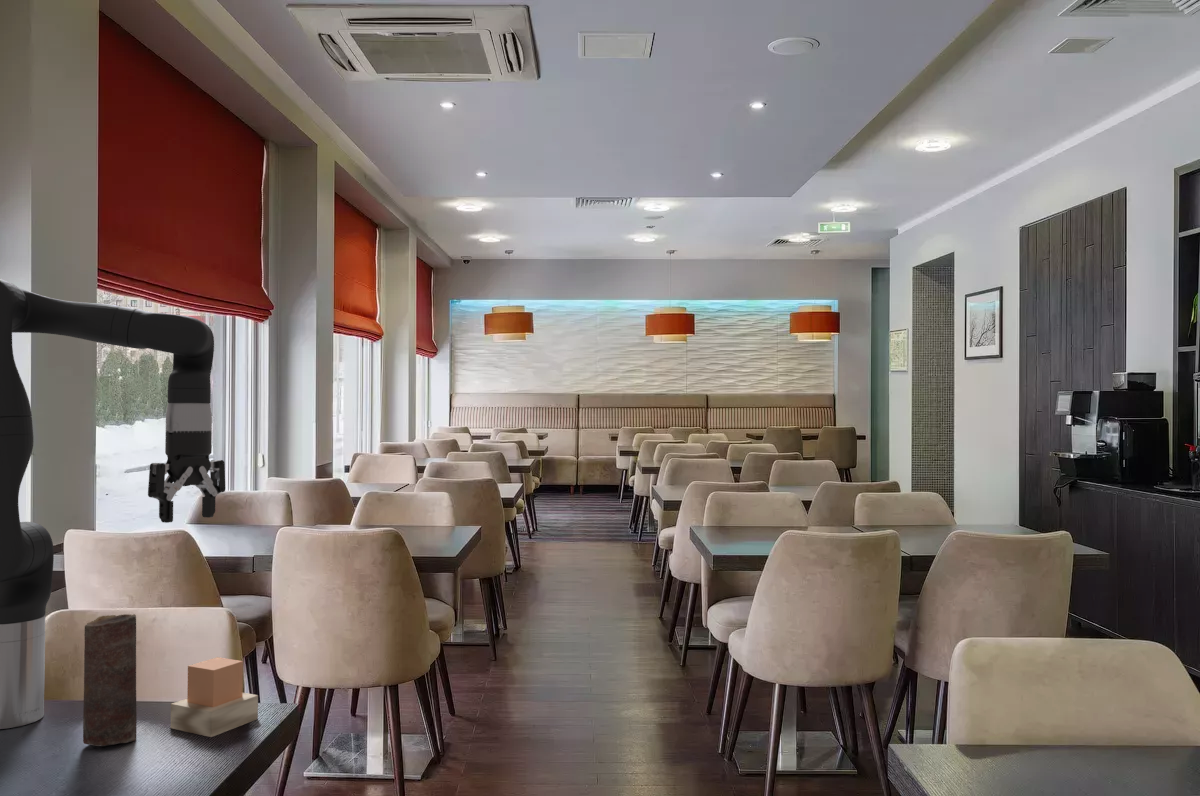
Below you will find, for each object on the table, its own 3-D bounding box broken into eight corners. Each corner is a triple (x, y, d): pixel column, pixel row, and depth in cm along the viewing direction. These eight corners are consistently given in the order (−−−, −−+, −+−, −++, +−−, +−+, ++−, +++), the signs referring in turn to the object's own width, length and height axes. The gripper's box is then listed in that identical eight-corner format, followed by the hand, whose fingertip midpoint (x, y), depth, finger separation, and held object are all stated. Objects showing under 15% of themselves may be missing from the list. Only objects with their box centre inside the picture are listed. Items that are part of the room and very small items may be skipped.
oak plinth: (170, 728, 145) (170, 703, 145) (217, 711, 153) (218, 687, 153) (211, 737, 141) (211, 712, 141) (257, 719, 149) (258, 695, 149)
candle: (111, 755, 133) (113, 622, 133) (70, 751, 134) (72, 620, 135) (147, 737, 140) (148, 612, 141) (107, 734, 142) (109, 610, 142)
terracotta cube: (187, 702, 146) (187, 665, 146) (216, 692, 151) (217, 657, 151) (213, 707, 143) (213, 670, 143) (242, 696, 148) (242, 661, 149)
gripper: (207, 428, 165) (206, 514, 165) (138, 429, 152) (137, 522, 152) (236, 428, 162) (235, 516, 161) (168, 429, 149) (167, 525, 148)
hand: (187, 519), depth 157 cm, fingers open, 8 cm apart
